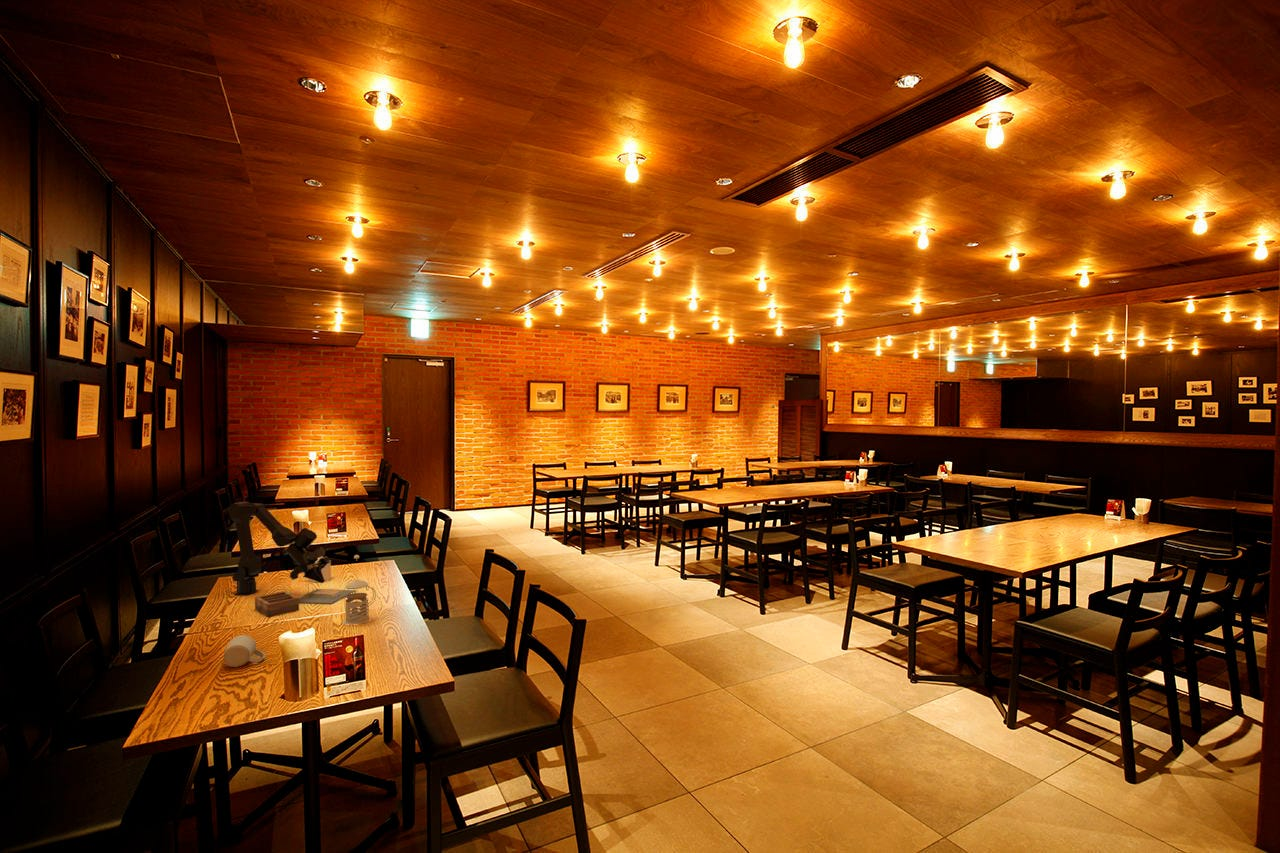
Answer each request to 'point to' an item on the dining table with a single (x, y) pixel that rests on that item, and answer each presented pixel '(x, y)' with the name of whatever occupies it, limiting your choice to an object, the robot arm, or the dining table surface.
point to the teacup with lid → (324, 571)
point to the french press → (357, 603)
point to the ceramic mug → (241, 651)
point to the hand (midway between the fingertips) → (323, 582)
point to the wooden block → (327, 594)
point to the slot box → (276, 604)
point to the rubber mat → (310, 600)
